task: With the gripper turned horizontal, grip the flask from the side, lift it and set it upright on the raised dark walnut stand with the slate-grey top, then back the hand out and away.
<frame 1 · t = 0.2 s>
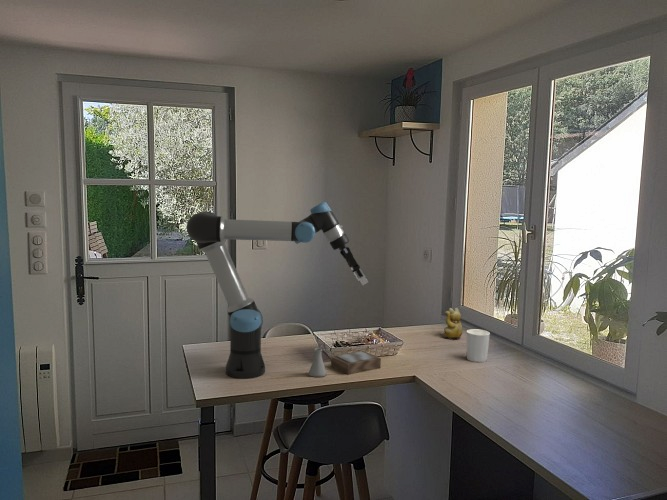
hand: (363, 281, 224), 34 cm above the breakfast bar, tool tilted 30°, fingers open, 13 cm apart
decorative figurine: (453, 338, 268), on the breakfast bar
candle holder: (476, 359, 234), on the breakfast bar
flask: (317, 375, 210), on the breakfast bar
walnut stand: (355, 367, 220), on the breakfast bar
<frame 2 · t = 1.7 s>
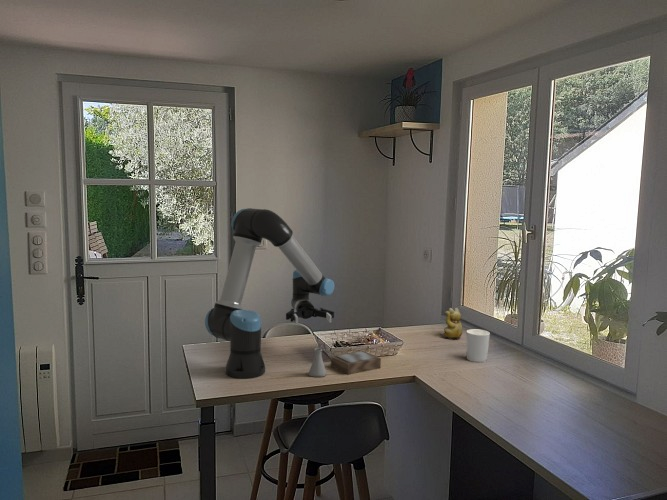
hand: (314, 320, 217), 19 cm above the breakfast bar, tool horizontal, fingers open, 13 cm apart
nothing on the breakfast bar moved.
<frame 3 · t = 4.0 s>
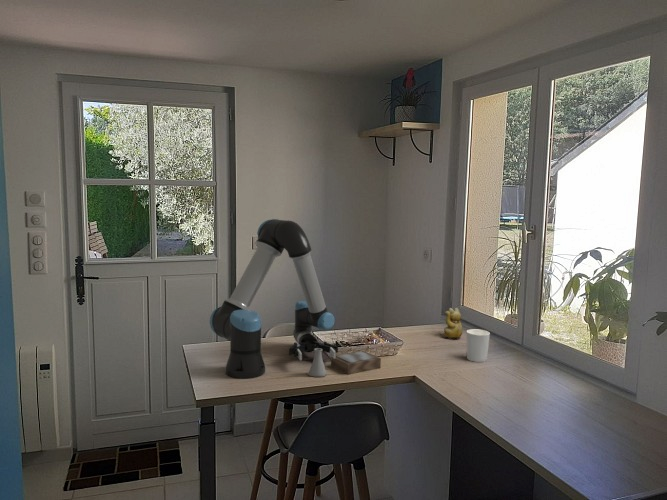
hand: (317, 356, 214), 6 cm above the breakfast bar, tool horizontal, fingers open, 13 cm apart
nothing on the breakfast bar moved.
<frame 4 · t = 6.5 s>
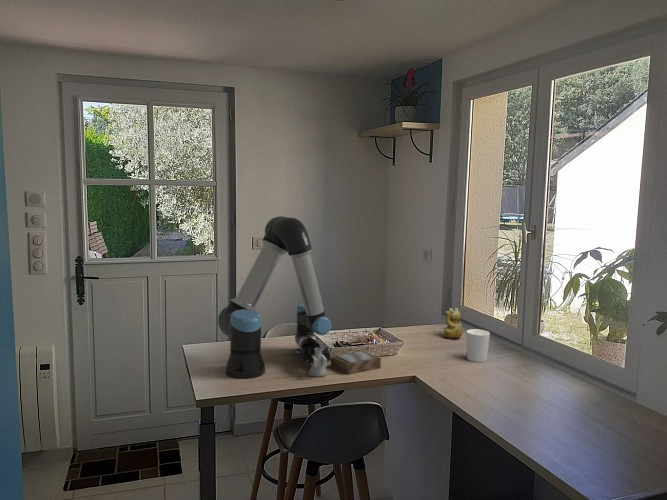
hand: (321, 363, 204), 6 cm above the breakfast bar, tool horizontal, fingers closed on flask, 3 cm apart
flask: (317, 374, 210), on the breakfast bar, touching gripper
everything else where it was.
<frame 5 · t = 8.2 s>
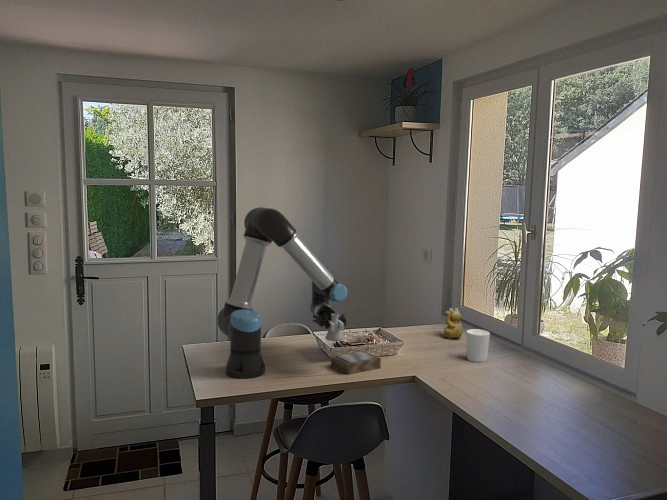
hand: (338, 327, 206), 19 cm above the breakfast bar, tool horizontal, fingers closed on flask, 3 cm apart
flask: (334, 339, 212), point 13 cm above the breakfast bar, touching gripper
everything else where it was.
when the fingers open (12 cm above the breakfast bar, at t = 10.2 s): flask drops 1 cm, resting on walnut stand.
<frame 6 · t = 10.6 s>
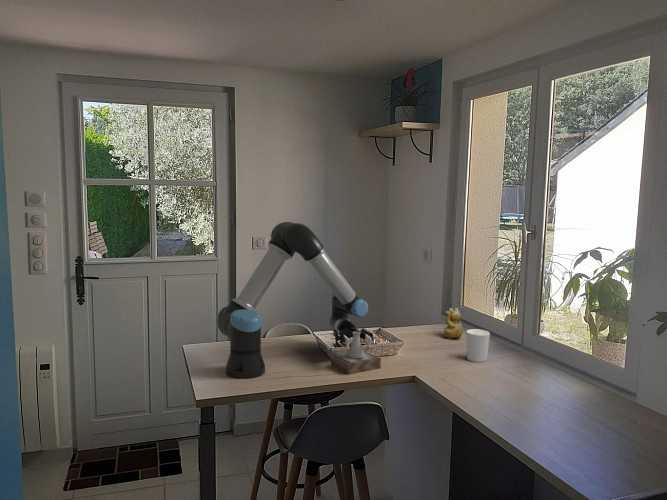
hand: (359, 342, 214), 11 cm above the breakfast bar, tool horizontal, fingers open, 8 cm apart
flask: (355, 357, 219), point 4 cm above the breakfast bar, touching walnut stand
everything else where it was.
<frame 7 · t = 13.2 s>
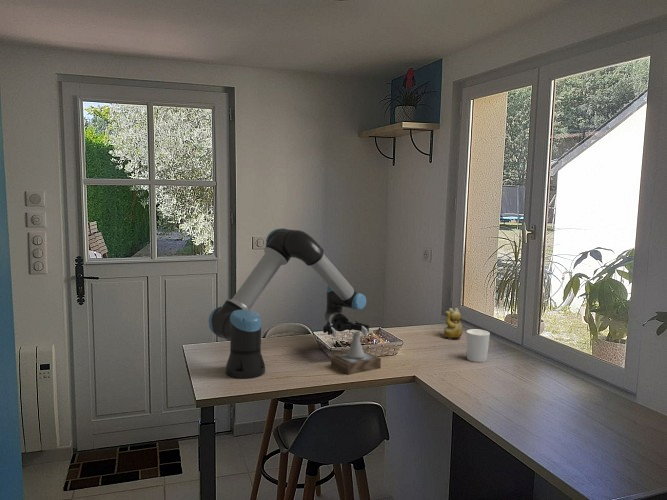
hand: (351, 333, 227), 12 cm above the breakfast bar, tool horizontal, fingers open, 13 cm apart
nothing on the breakfast bar moved.
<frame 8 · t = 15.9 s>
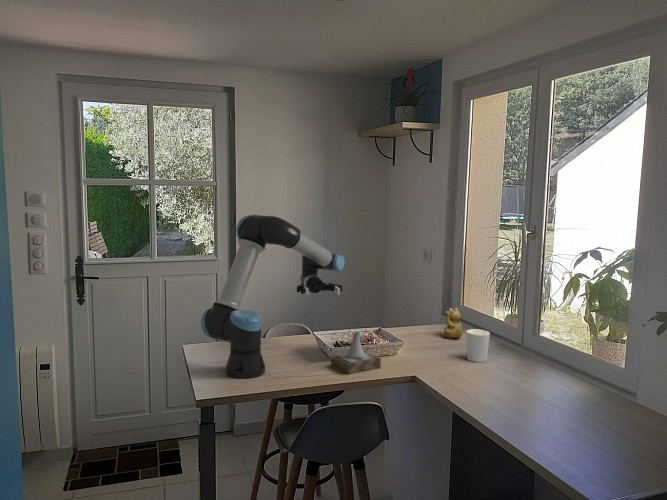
hand: (323, 292, 230), 28 cm above the breakfast bar, tool horizontal, fingers open, 13 cm apart
nothing on the breakfast bar moved.
at the end: flask inside the target area on the walnut stand (0.0 cm from its centre), point 4.1 cm above the walnut stand's base; flask tilted 0°; the gripper is holding nothing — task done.
